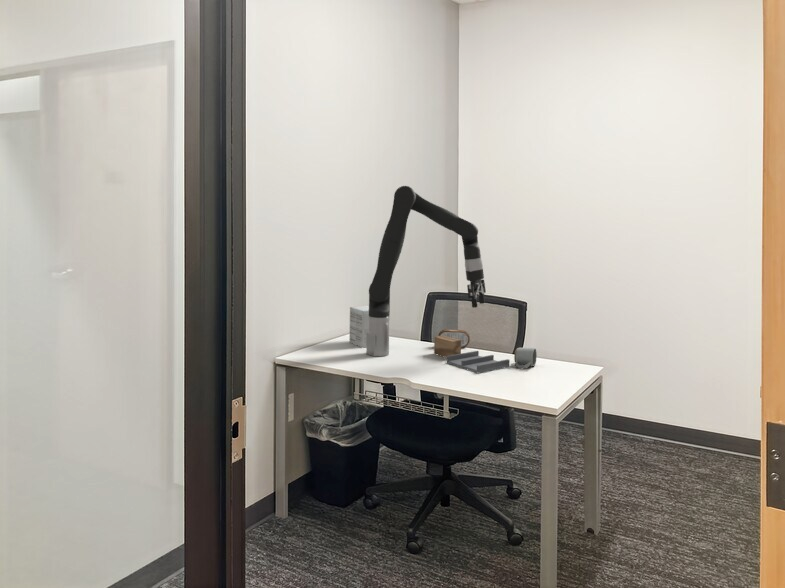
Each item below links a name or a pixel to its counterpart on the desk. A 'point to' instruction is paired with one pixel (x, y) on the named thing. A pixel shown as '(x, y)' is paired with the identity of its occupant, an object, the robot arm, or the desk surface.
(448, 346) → the wooden toy brick
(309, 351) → the desk surface
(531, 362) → the ceramic mug
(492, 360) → the rack
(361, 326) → the supplement box
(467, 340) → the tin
